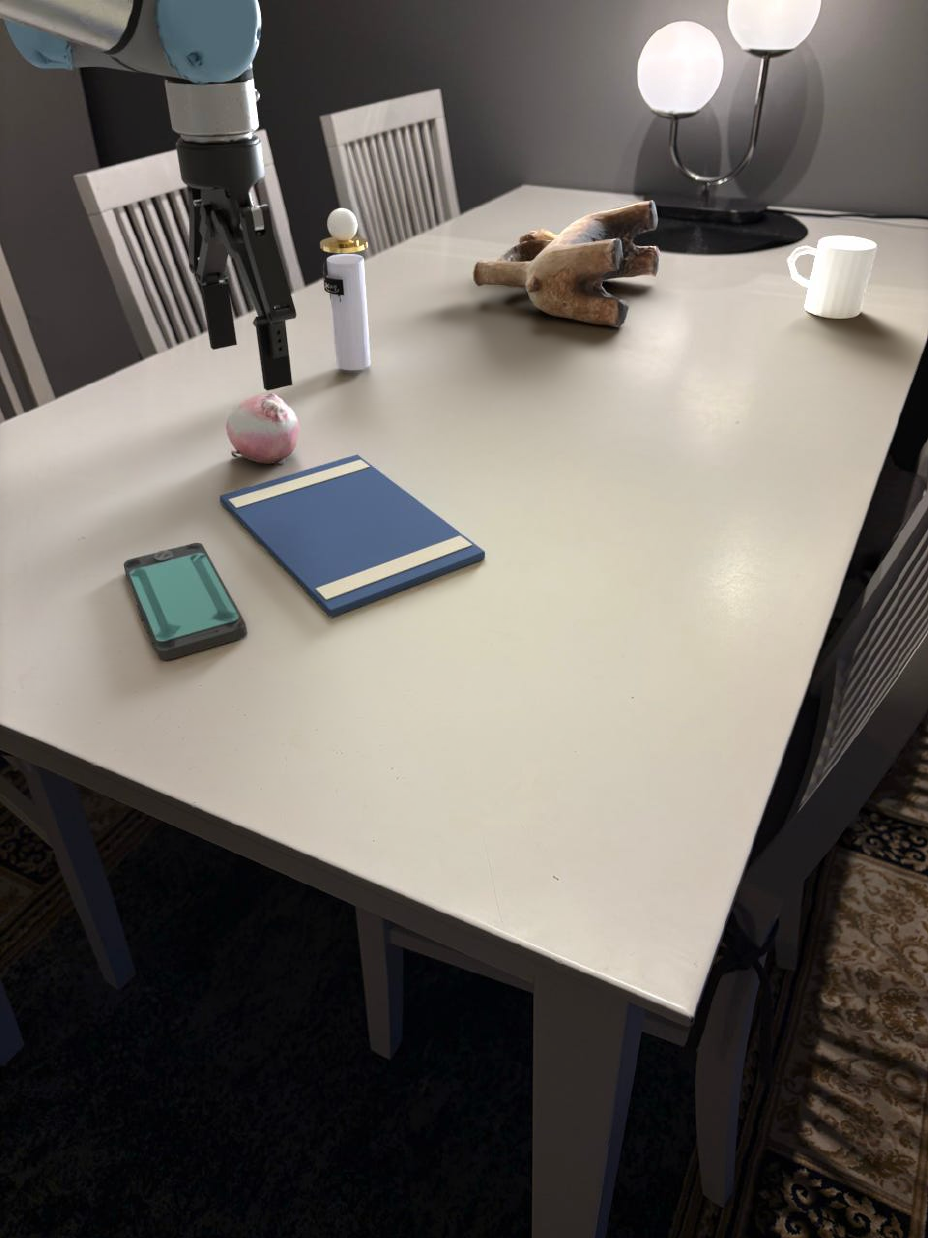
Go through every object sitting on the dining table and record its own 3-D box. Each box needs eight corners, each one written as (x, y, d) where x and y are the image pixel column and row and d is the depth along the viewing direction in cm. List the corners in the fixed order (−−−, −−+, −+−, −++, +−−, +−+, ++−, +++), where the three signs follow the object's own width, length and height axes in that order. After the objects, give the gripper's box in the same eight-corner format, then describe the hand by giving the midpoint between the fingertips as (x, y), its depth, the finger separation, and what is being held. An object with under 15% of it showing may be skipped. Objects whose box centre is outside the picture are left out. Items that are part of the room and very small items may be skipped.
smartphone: (200, 539, 85) (247, 624, 74) (202, 550, 85) (249, 636, 75) (119, 559, 82) (155, 651, 71) (122, 571, 83) (158, 663, 72)
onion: (278, 479, 96) (269, 416, 92) (215, 467, 99) (204, 405, 94) (314, 447, 102) (307, 387, 98) (254, 437, 105) (245, 377, 100)
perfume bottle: (358, 357, 124) (347, 200, 112) (384, 369, 121) (374, 208, 109) (323, 368, 121) (307, 207, 109) (348, 381, 118) (334, 216, 106)
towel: (220, 502, 93) (218, 494, 92) (357, 460, 100) (357, 453, 99) (331, 618, 77) (330, 609, 76) (485, 558, 84) (485, 550, 83)
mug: (778, 297, 144) (791, 232, 138) (858, 304, 141) (875, 237, 135) (777, 314, 138) (791, 246, 132) (861, 321, 135) (879, 252, 129)
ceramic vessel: (665, 181, 144) (516, 190, 154) (619, 249, 123) (449, 255, 132) (666, 263, 152) (524, 267, 162) (623, 340, 131) (463, 340, 140)
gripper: (319, 151, 75) (339, 397, 87) (204, 114, 91) (235, 325, 104) (234, 160, 71) (267, 415, 84) (130, 120, 88) (171, 337, 100)
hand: (249, 365), depth 94 cm, fingers open, 13 cm apart
